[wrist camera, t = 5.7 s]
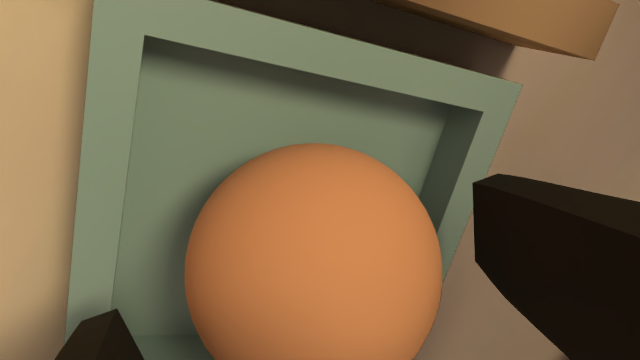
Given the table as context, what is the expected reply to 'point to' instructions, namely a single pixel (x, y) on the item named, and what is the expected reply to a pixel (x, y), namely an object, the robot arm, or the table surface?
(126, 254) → the tray
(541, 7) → the rail
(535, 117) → the table surface
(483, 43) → the table surface
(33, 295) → the table surface
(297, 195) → the ball
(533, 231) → the robot arm
